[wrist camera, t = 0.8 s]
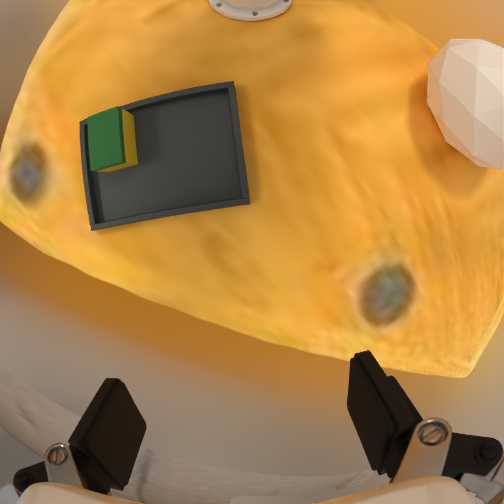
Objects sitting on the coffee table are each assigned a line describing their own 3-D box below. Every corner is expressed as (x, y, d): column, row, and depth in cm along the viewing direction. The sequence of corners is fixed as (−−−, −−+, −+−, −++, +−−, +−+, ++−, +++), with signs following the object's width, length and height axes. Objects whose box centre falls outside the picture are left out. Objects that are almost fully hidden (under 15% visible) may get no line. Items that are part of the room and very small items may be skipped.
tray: (86, 124, 30) (79, 121, 28) (234, 86, 30) (233, 80, 28) (98, 228, 34) (91, 231, 32) (249, 203, 34) (250, 204, 32)
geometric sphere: (417, 138, 38) (427, 162, 24) (422, 35, 27) (431, -1, 13) (505, 169, 30) (549, 211, 16) (514, 69, 19) (565, 62, 5)
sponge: (105, 124, 30) (87, 117, 25) (133, 115, 30) (118, 106, 25) (109, 172, 32) (90, 171, 27) (138, 164, 32) (122, 162, 27)
